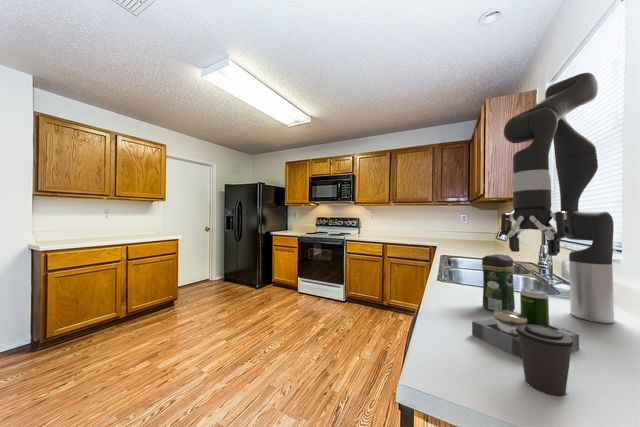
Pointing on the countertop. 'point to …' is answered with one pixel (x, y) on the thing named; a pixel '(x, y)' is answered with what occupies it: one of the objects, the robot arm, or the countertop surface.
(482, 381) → the countertop surface
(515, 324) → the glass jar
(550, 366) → the coffee cup
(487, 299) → the coffee jar
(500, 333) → the grey rectangular frame
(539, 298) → the green metal cylinder
